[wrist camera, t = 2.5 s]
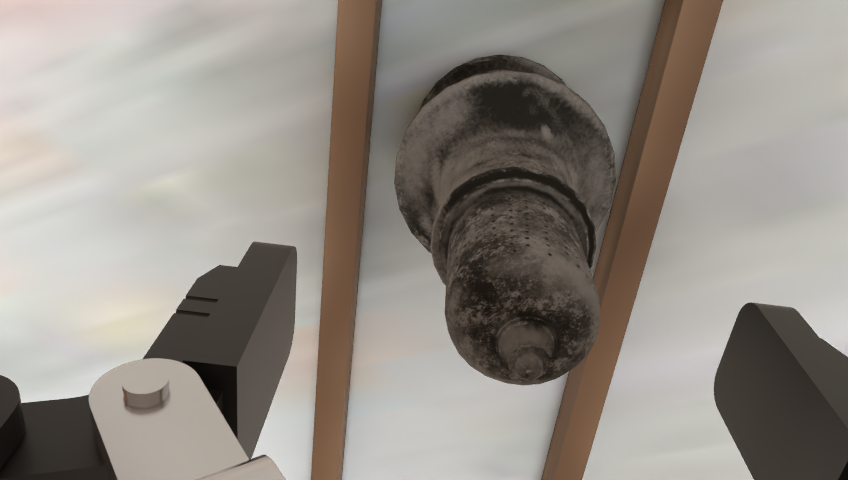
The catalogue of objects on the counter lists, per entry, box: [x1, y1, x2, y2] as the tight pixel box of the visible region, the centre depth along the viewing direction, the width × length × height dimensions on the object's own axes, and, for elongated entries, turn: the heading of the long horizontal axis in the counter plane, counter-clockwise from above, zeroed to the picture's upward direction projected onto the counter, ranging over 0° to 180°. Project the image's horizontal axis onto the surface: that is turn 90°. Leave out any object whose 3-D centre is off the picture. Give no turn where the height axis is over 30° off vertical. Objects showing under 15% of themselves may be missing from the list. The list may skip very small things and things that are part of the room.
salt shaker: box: [394, 55, 616, 385], centre depth 16 cm, size 6×6×12 cm
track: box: [311, 0, 723, 480], centre depth 25 cm, size 18×32×3 cm, turn 173°
